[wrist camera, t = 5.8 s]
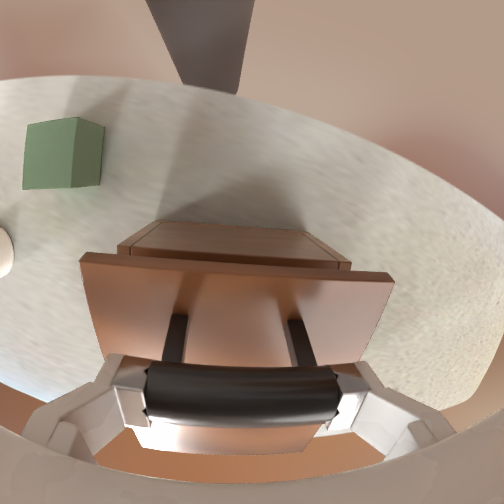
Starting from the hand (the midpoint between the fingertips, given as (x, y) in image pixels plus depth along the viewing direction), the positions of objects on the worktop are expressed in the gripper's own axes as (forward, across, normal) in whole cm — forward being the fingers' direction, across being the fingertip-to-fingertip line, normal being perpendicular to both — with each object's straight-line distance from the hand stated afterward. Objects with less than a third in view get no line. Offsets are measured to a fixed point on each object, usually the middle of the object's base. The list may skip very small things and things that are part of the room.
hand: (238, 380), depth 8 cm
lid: (+5, 0, +5) cm, 7 cm away
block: (+15, +14, -8) cm, 22 cm away
